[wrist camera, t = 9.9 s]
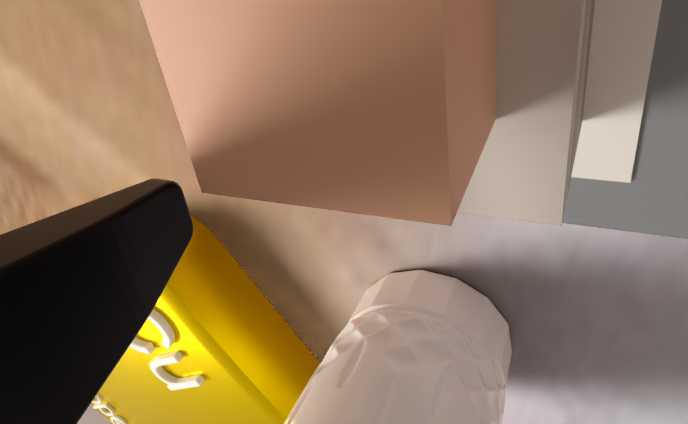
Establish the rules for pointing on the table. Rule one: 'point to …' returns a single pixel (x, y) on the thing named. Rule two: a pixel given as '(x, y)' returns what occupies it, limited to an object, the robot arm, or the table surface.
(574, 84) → the grey slotted block
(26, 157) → the table surface
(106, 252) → the robot arm
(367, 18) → the orange block
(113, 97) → the table surface
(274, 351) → the element tile
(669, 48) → the dock
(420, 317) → the white cup
